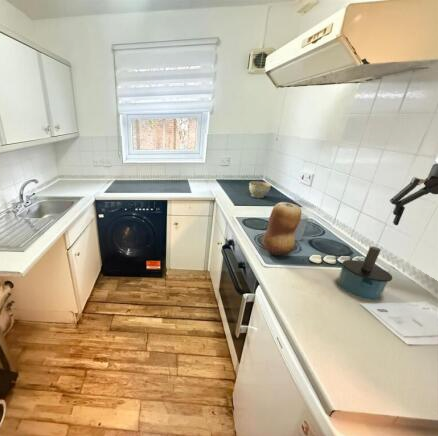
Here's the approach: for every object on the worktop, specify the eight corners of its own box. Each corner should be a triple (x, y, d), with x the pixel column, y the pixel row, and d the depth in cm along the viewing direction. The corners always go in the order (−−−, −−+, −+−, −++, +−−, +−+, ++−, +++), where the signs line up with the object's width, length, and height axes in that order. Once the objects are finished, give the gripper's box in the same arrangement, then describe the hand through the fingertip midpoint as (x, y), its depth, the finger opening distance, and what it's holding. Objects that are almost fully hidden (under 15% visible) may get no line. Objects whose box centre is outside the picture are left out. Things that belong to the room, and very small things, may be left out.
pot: (375, 282, 94) (384, 264, 90) (384, 310, 80) (394, 290, 77) (336, 271, 100) (342, 254, 97) (338, 295, 86) (345, 276, 83)
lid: (385, 270, 88) (396, 247, 84) (396, 288, 77) (408, 262, 74) (340, 259, 95) (348, 236, 91) (343, 274, 84) (353, 249, 80)
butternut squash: (294, 262, 106) (309, 210, 96) (262, 258, 110) (273, 207, 100) (286, 247, 119) (299, 200, 109) (258, 244, 122) (267, 198, 112)
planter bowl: (270, 200, 187) (273, 186, 183) (248, 198, 190) (251, 185, 186) (266, 194, 201) (268, 181, 197) (246, 193, 205) (248, 180, 200)
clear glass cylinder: (292, 241, 125) (298, 219, 120) (278, 233, 133) (283, 213, 129) (306, 238, 127) (313, 217, 123) (292, 231, 136) (297, 211, 131)
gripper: (398, 163, 75) (375, 224, 84) (529, 170, 63) (487, 241, 71) (393, 160, 81) (372, 217, 89) (511, 165, 68) (474, 232, 76)
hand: (422, 228), depth 80 cm, fingers open, 13 cm apart
